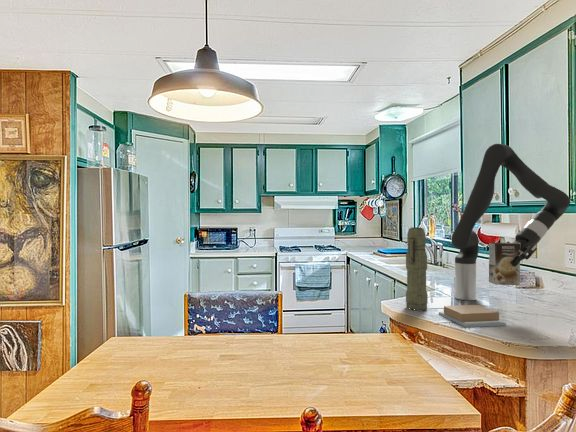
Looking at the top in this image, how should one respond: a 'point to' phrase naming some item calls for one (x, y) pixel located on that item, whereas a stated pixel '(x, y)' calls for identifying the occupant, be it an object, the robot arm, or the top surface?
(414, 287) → the thermos
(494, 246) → the coffee box
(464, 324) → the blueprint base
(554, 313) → the top surface
